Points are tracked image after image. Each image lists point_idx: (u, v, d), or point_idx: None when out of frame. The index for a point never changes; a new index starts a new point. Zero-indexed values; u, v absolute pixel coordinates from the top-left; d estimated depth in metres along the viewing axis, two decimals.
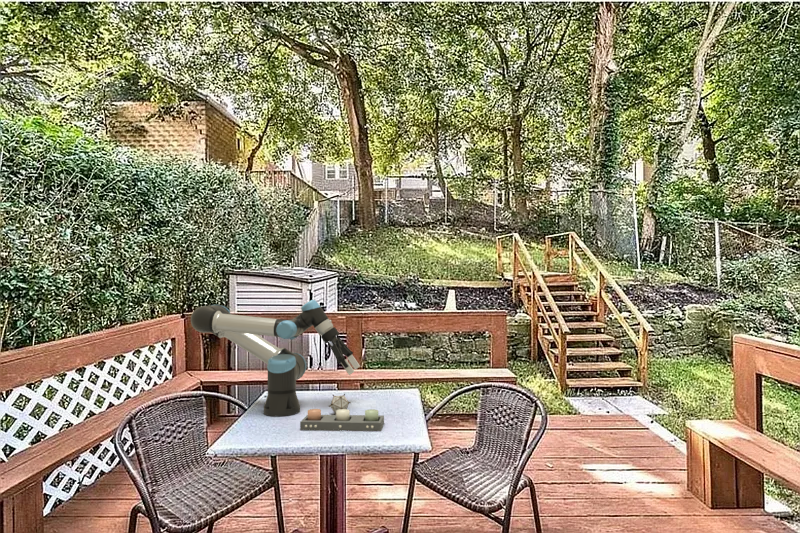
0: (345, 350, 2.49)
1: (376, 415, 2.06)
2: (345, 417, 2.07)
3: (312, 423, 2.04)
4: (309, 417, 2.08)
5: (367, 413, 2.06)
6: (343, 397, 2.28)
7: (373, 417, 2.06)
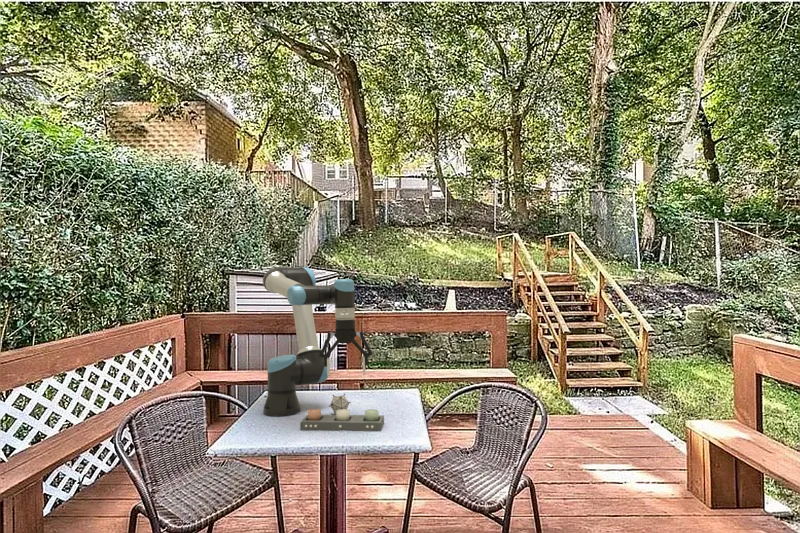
0: (358, 349, 2.12)
1: (376, 415, 2.06)
2: (345, 417, 2.07)
3: (312, 423, 2.04)
4: (309, 417, 2.08)
5: (367, 413, 2.06)
6: (343, 397, 2.28)
7: (373, 417, 2.06)
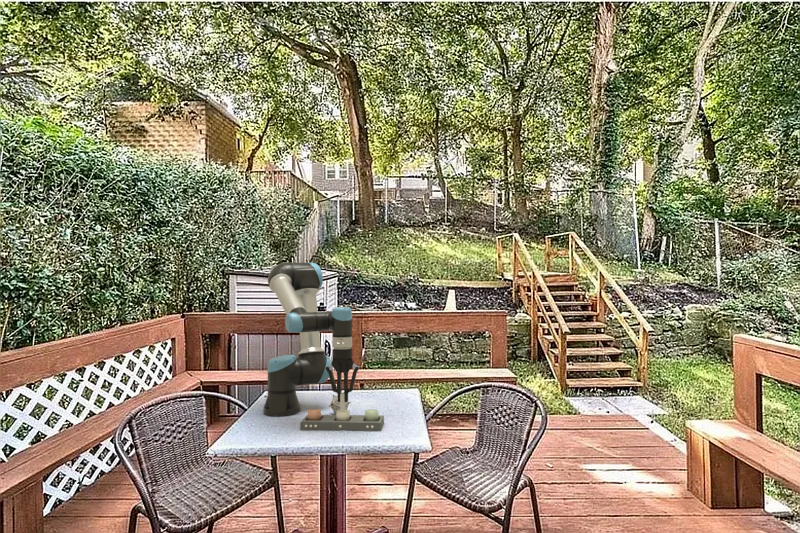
0: None
1: (376, 415, 2.06)
2: (345, 417, 2.07)
3: (312, 423, 2.04)
4: (309, 417, 2.08)
5: (367, 413, 2.06)
6: None
7: (373, 417, 2.06)
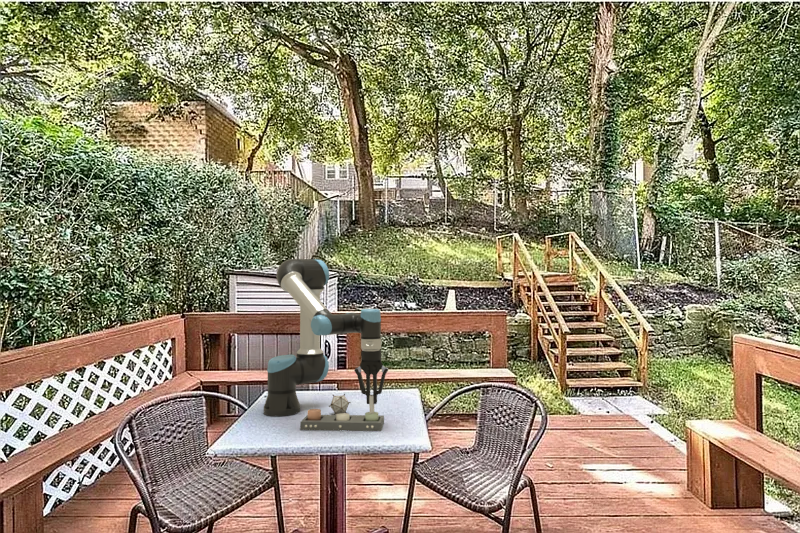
0: (373, 383, 2.08)
1: (376, 417, 2.06)
2: None
3: (312, 423, 2.04)
4: (309, 417, 2.08)
5: (367, 415, 2.06)
6: (343, 397, 2.28)
7: (373, 419, 2.06)
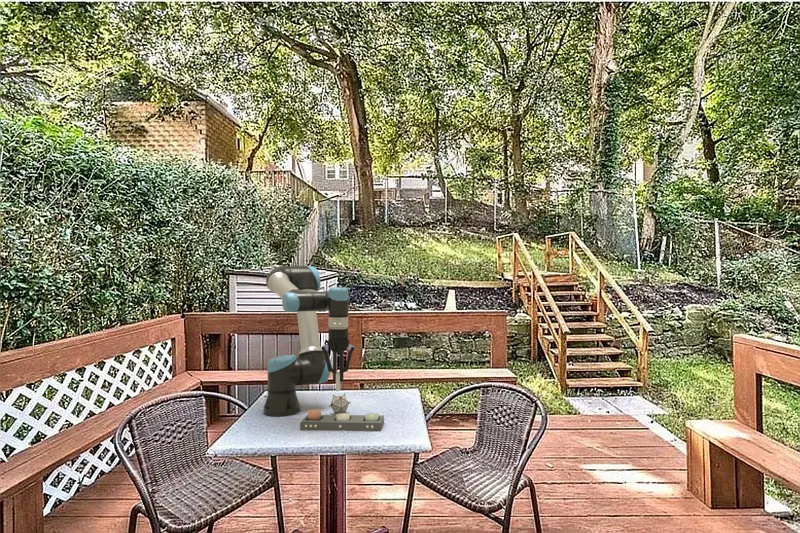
0: None
1: (376, 419, 2.06)
2: None
3: (312, 423, 2.04)
4: (309, 417, 2.08)
5: (367, 417, 2.06)
6: (343, 397, 2.28)
7: None
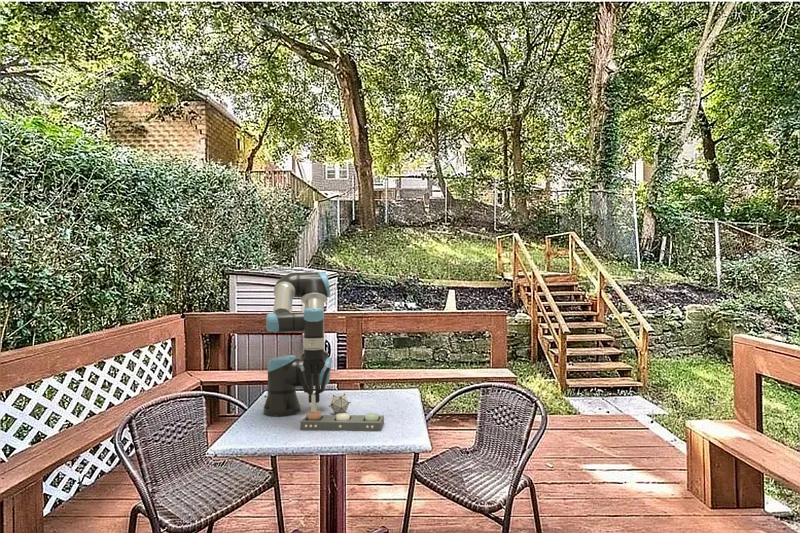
0: None
1: (376, 419, 2.06)
2: None
3: (312, 423, 2.04)
4: (309, 418, 2.08)
5: (367, 417, 2.06)
6: (343, 397, 2.28)
7: None
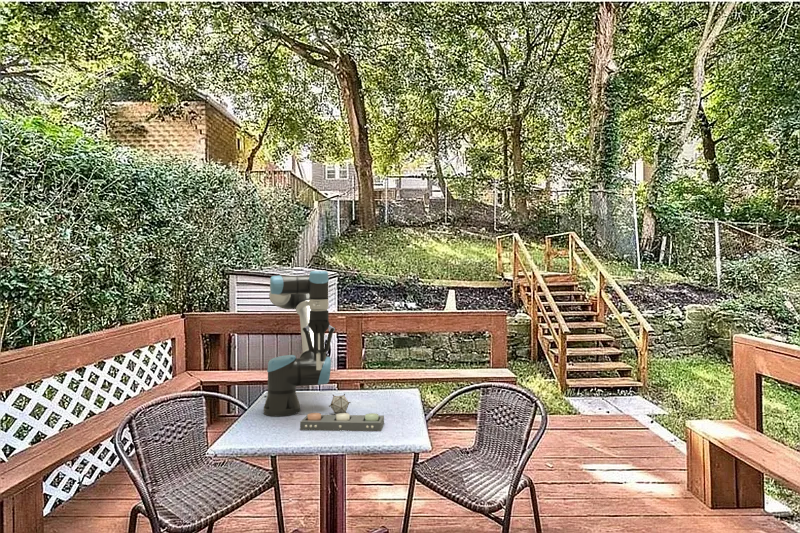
0: None
1: (376, 419, 2.06)
2: None
3: (312, 423, 2.04)
4: None
5: (367, 417, 2.06)
6: (343, 397, 2.28)
7: None
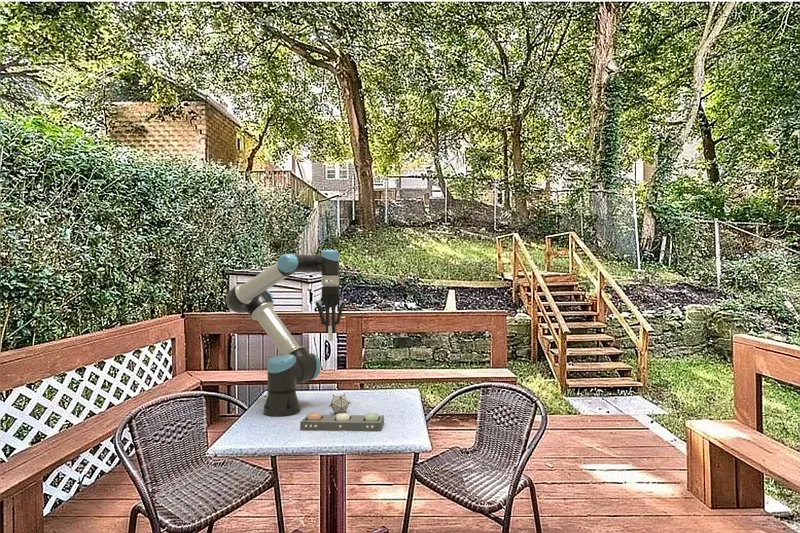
0: None
1: (376, 419, 2.06)
2: None
3: (312, 423, 2.04)
4: None
5: (367, 417, 2.06)
6: (343, 397, 2.28)
7: None
